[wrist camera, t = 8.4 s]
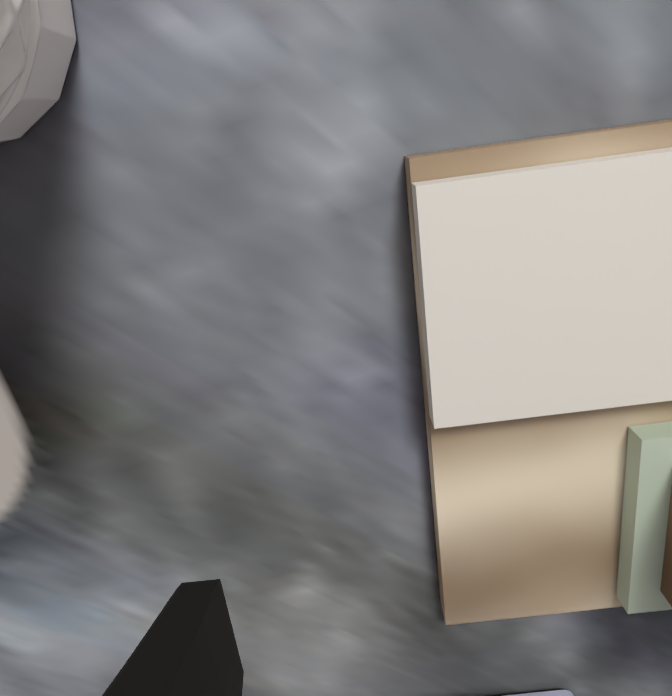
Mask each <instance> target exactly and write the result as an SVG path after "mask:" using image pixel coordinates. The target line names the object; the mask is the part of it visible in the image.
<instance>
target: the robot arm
mask: <svg viewBox="0 0 672 696" xmlns="http://www.w3.org/2000/svg"><path fill="white" fill-rule="evenodd" d="M242 685H243V668H242V664H241V660H240V656H239V652H238V648H237V645H236V641H235V637H234V633H233V629H232V625H231V621H230V617H229V613H228V609H227V605H226V601H225V597H224V593H223V589H222V585H221V581H220V579H217V580H207V581H197V582H187V583H181V585H180V586H179V587H178V588H177V589H176V591H175V592H174V593H173V595H172V596H171V598H170V599H169V601H168V602H167V604H166V605H165V607H164V608H163V610H162V611H161V613H160V614H159V615H158V617H157V618H156V620H155V621H154V623H153V624H152V626H151V627H150V629H149V630H148V632H147V633H146V635H145V636H144V637H143V639H142V640H141V642H140V643H139V645H138V646H137V648H136V649H135V650H134V652H133V653H132V655H131V656H130V658H129V659H128V660H127V662H126V663H125V665H124V666H123V668H122V669H121V670H120V672H119V673H118V675H117V676H116V677H115V679H114V680H113V681H112V683H111V684H110V686H109V687H108V688H107V690H106V691H105V692H104V694H103V695H102V696H242ZM503 696H574V695H573V693H572V692H570V691H568V690H553V691H543V692H533V693H523V694H513V695H503Z"/></svg>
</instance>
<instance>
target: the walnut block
mask: <svg viewBox="0 0 672 696" xmlns="http://www.w3.org/2000/svg"><path fill="white" fill-rule="evenodd" d="M660 591H661V593H662V594H663V595H664V597H665V598H666V600H667V601H668V602H669V604H670V605H671V607H672V486H671V495H670V504H669V514H668V523H667V532H666V541H665V550H664V559H663V569H662V578H661V587H660Z"/></svg>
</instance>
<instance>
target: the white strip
mask: <svg viewBox="0 0 672 696" xmlns="http://www.w3.org/2000/svg"><path fill="white" fill-rule="evenodd" d="M411 185H412V198H413V210H414V223H415V236H416V249H417V261H418V274H419V287H420V300H421V312H422V325H423V338H424V351H425V363H426V376H427V389H428V402H429V414H430V418H431V421H432V424H433V427H434V429H438V428H446V427H455V426H463V425H472V424H480V423H488V422H497V421H505V420H513V419H522V418H530V417H539V416H547V415H555V414H564V413H572V412H580V411H589V410H597V409H605V408H614V407H622V406H631V405H639V404H647V403H656V402H664V401H672V147H670V148H663V149H655V150H648V151H641V152H633V153H626V154H619V155H611V156H604V157H597V158H589V159H582V160H575V161H567V162H560V163H553V164H546V165H538V166H531V167H524V168H516V169H509V170H502V171H494V172H487V173H480V174H472V175H465V176H458V177H450V178H443V179H436V180H428V181H421V182H414V183H411Z"/></svg>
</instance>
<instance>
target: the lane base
mask: <svg viewBox="0 0 672 696" xmlns="http://www.w3.org/2000/svg"><path fill="white" fill-rule="evenodd" d="M670 147H672V119H669V120H661V121H654V122H647V123H640V124H632V125H625V126H618V127H611V128H604V129H596V130H589V131H582V132H575V133H568V134H560V135H553V136H546V137H539V138H531V139H524V140H517V141H510V142H503V143H495V144H488V145H481V146H474V147H467V148H459V149H452V150H445V151H438V152H430V153H423V154H416V155H409V156H404V159H405V171H406V184H407V196H408V208H409V220H410V233H411V245H412V257H413V269H414V282H415V294H416V306H417V318H418V331H419V343H420V355H421V367H422V380H423V392H424V404H425V416H426V429H427V441H428V453H429V465H430V478H431V490H432V502H433V515H434V527H435V539H436V551H437V564H438V576H439V588H440V600H441V606H442V611H443V615H444V619H445V624H446V625H452V624H462V623H471V622H481V621H490V620H500V619H509V618H519V617H528V616H537V615H547V614H556V613H566V612H575V611H585V610H594V609H604V608H613V607H623V606H622V604H621V602H620V601H619V599H618V597H617V596H616V594H617V580H618V566H619V552H620V538H621V524H622V510H623V496H624V482H625V468H626V454H627V440H628V426H636V425H645V424H653V423H662V422H670V421H672V401H664V402H656V403H647V404H639V405H631V406H622V407H614V408H605V409H597V410H589V411H580V412H572V413H564V414H555V415H547V416H539V417H530V418H522V419H513V420H505V421H497V422H488V423H480V424H472V425H463V426H455V427H446V428H438V429H434V427H433V424H432V421H431V418H430V414H429V402H428V389H427V376H426V363H425V351H424V338H423V325H422V312H421V300H420V287H419V274H418V261H417V249H416V236H415V223H414V210H413V198H412V185H411V183H414V182H421V181H428V180H436V179H443V178H450V177H458V176H465V175H472V174H480V173H487V172H494V171H502V170H509V169H516V168H524V167H531V166H538V165H546V164H553V163H560V162H567V161H575V160H582V159H589V158H597V157H604V156H611V155H619V154H626V153H633V152H641V151H648V150H655V149H663V148H670Z"/></svg>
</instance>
